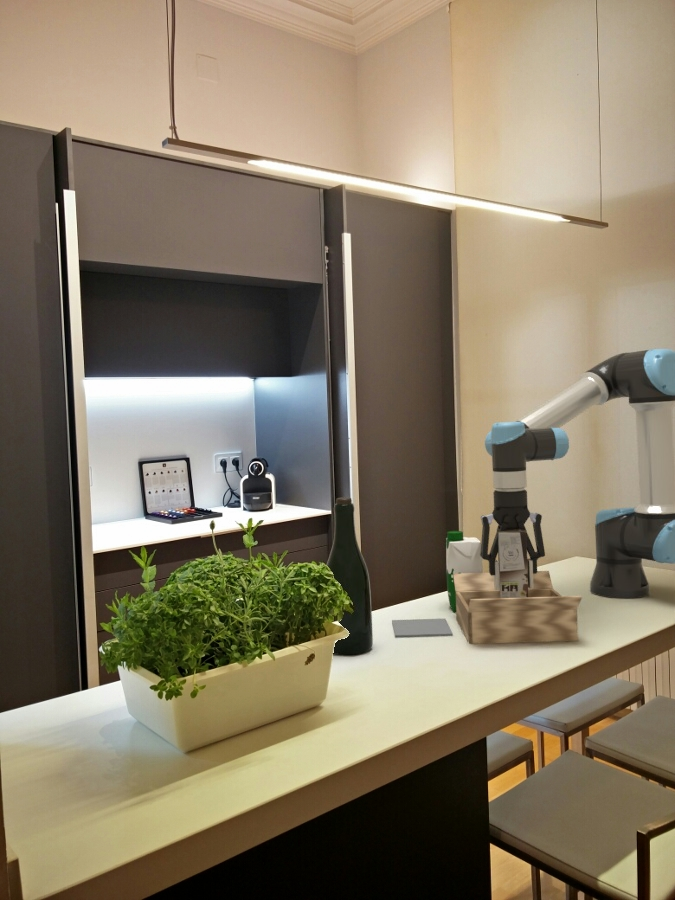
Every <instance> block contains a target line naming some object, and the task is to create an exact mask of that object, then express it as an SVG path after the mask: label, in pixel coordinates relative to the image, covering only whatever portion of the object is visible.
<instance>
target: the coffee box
mask: <svg viewBox="0 0 675 900" xmlns="http://www.w3.org/2000/svg"><path fill="white" fill-rule="evenodd" d="M497 528H498V526H497ZM497 528H496V529H497ZM526 531H527V529H526V530H520V529H511V530H506V531H499V530H498V554H497V558H498V560H497V561H498V562H499V583H500V598H523V597H528V564H527V559H528V551H527V535H526V533H527V534H528V532H526Z"/></svg>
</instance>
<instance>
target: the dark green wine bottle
mask: <svg viewBox="0 0 675 900" xmlns="http://www.w3.org/2000/svg"><path fill="white" fill-rule="evenodd" d="M333 506H334V507H333V512H334V513H333V514H334V535H333V536H334V537H333V542H332V546H331V550H330V552H329V556H328V560H327V561H326V565H327V566H328V567H329V568H330V569H331V570H332V572H333V574H334V578H335V579H336V580H337V581H338V582H339V583H340V584H341V585H342V587H343V588H344V590H345V591H346V592H347V593H348V595H349V597H350V599H351V600H352V602H353V606H354V612H353V613H352V614H351V613H348V612H345V613H344V615H343V618H342V620H341V621H340V622H339V623H340V624H341V625H342V626H343V627H344V628H346V629H347V630H348V631H349V633H350V634H349V636H348V637H347V638H345V639H341V640H338V641H337V642H336V643H335V647H334V653H333V654H334V655H341V656H353V655H355V656H356V655H361V654H365V653H367V652H369V651H370V650H371V649H372V648H373V646H374V645H373V643H374V641H373V640H374V639H373V638H374V637H373V636H374V635H373V616H372V615H373V614H372V596H371V595H372V594H371V583H370V574H369V570H368V566H367V564H366V561H365V558H364V556H363V554H362V552H361V548H360V546H359V543H358V539H357V533H356V525H355V524H356V523H355V505H354V503H352V498H351V497H338V498H336V500H335V504H334V505H333Z"/></svg>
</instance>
